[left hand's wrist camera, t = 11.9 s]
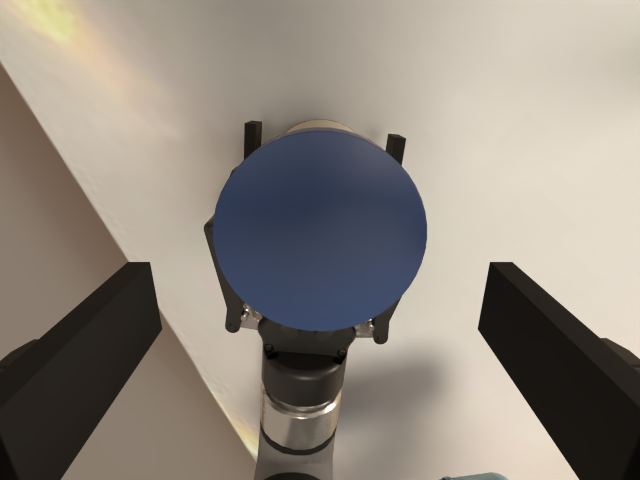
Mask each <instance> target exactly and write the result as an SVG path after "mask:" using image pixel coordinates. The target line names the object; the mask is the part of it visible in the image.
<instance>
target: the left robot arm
mask: <svg viewBox="0 0 640 480" xmlns="http://www.w3.org/2000/svg"><path fill="white" fill-rule="evenodd" d="M161 330H162V325H161V320H160V314H159V309H158V303H157V298H156V293H155V287H154V282H153V276H152V271H151V265H150V262H127V263H126V264H125V265H124V266H123V267H122V268H121V269H119V270H118V271H117V272H116V273H115V274H114V275H112V276H111V277H110V278H109V279H108V280H107V281H106V282H104V283H103V284H102V285H101V286H100V287H99V288H97V289H96V290H95V291H94V292H93V293H92V294H91V295H89V296H88V297H87V298H86V299H85V300H84V301H82V302H81V303H80V304H79V305H78V306H77V307H76V308H74V309H73V310H72V311H71V312H70V313H69V314H67V315H66V316H65V317H64V318H63V319H62V320H61V321H59V322H58V323H57V324H56V325H55V326H54V327H52V328H51V329H50V330H49V331H48V332H47V333H46V334H44V335H43V336H42V337H41V338H40V339H34V340H32V341H30V342H28V343H26V344H25V345H23V346H21V347H19V348H17V349H16V350H14V351H12V352H11V353H9V354H8V355H7V356H6V357H4V358H3V359H2V360H1V361H0V480H61V478H62V477H63V475H64V474H65V472H66V471H67V469H68V468H69V466H70V465H71V463H72V462H73V460H74V459H75V457H76V456H77V454H78V453H79V452H80V450H81V449H82V447H83V446H84V444H85V443H86V441H87V440H88V438H89V437H90V435H91V434H92V432H93V431H94V429H95V428H96V426H97V425H98V423H99V422H100V420H101V419H102V417H103V416H104V414H105V413H106V412H107V410H108V409H109V407H110V406H111V404H112V403H113V401H114V400H115V398H116V397H117V395H118V394H119V392H120V391H121V389H122V388H123V386H124V385H125V383H126V382H127V380H128V379H129V378H130V376H131V375H132V373H133V372H134V370H135V369H136V367H137V366H138V364H139V363H140V361H141V360H142V358H143V357H144V355H145V354H146V352H147V351H148V349H149V348H150V346H151V345H152V343H153V342H154V341H155V339H156V338H157V336H158V335H159V333H160V332H161ZM478 330H479V332H480V333H481V335H482V336H483V338H484V339H485V341H486V342H487V343H488V345H489V346H490V348H491V349H492V351H493V352H494V354H495V355H496V357H497V358H498V360H499V361H500V363H501V364H502V366H503V367H504V369H505V370H506V372H507V373H508V375H509V376H510V378H511V379H512V380H513V382H514V383H515V385H516V386H517V388H518V389H519V391H520V392H521V394H522V395H523V397H524V398H525V400H526V401H527V403H528V404H529V406H530V407H531V409H532V410H533V412H534V413H535V415H536V416H537V417H538V419H539V420H540V422H541V423H542V425H543V426H544V428H545V429H546V431H547V432H548V434H549V435H550V437H551V438H552V440H553V441H554V443H555V444H556V446H557V447H558V449H559V450H560V452H561V453H562V454H563V456H564V457H565V459H566V460H567V462H568V463H569V465H570V466H571V468H572V469H573V471H574V472H575V474H576V475H577V477H578V478H579V480H640V359H639V358H638V357H636V356H635V355H634V354H633V353H632V352H630V351H629V350H627V349H626V348H624V347H622V346H620V345H618V344H616V343H615V342H613V341H611V340H609V339H607V338H599V337H598V336H597V335H596V334H594V333H593V332H592V331H591V330H590V329H589V328H588V327H586V326H585V325H584V324H583V323H582V322H581V321H579V320H578V319H577V318H576V317H575V316H574V315H573V314H571V313H570V312H569V311H568V310H567V309H566V308H564V307H563V306H562V305H561V304H560V303H559V302H558V301H556V300H555V299H554V298H553V297H552V296H551V295H549V294H548V293H547V292H546V291H545V290H544V289H543V288H541V287H540V286H539V285H538V284H537V283H536V282H534V281H533V280H532V279H531V278H530V277H529V276H528V275H526V274H525V273H524V272H523V271H522V270H521V269H519V268H518V267H517V266H516V265H515V264H514V263H513V262H490V265H489V271H488V276H487V282H486V287H485V293H484V298H483V303H482V309H481V314H480V320H479V325H478Z"/></svg>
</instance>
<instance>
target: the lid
mask: <svg viewBox="0 0 640 480" xmlns="http://www.w3.org/2000/svg"><path fill="white" fill-rule="evenodd" d="M213 240H214V248H215V252H216V257H217V260H218V263H219V265H220V268H221V270H222V272H223V274H224V276H225V278H226V280H227V282H228V283H229V284H230V286H231V287H232V289H233V290H234V291H235V293H236V294H237V295H238V296H239V297H240V298H241V299H242V300H243V301H244V302H245V303H246V304H247V305H248V306H250V307H251V308H252V309H253V310H255V311H256V312H258V313H259V314H261V315H262V316H264V317H266V318H268V319H270V320H272V321H274V322H276V323H279V324H282V325H284V326H287V327H291V328H295V329H300V330H307V331H333V330H339V329H345V328H349V327H352V326H355V325H359V324H361V323H364V322H366V321H368V320H370V319H372V318H374V317H376V316H377V315H379V314H381V313H382V312H384V311H385V310H386V309H388V308H389V307H390V306H392V305H393V304H394V303H395V302H396V301H397V300H398V299H399V298H400V297H401V296H402V295H403V294H404V292H405V291H406V290H407V289H408V287H409V286H410V285H411V283H412V281H413V280H414V278H415V276H416V274H417V272H418V270H419V268H420V265H421V263H422V260H423V256H424V253H425V248H426V241H427V222H426V214H425V209H424V206H423V202H422V199H421V197H420V194H419V192H418V190H417V188H416V186H415V184H414V182H413V181H412V179H411V178H410V176H409V174H408V173H407V172H406V171H405V170H404V169H403V167H402V166H401V165H400V164H399V163H398V162H397V161H396V160H395V159H394V158H393V157H391V156H390V155H389V154H388V153H387V152H386V151H384V150H383V149H382V148H381V147H379V146H378V145H376V144H375V143H373V142H372V141H370V140H369V139H367V138H364V137H362V136H360V135H358V134H355V133H352V132H349V131H346V130H342V129H336V128H329V127H312V128H303V129H299V130H294V131H290V132H287V133H285V134H282V135H280V136H277V137H275V138H273V139H272V140H270V141H268V142H266V143H265V144H263V145H262V146H261V147H259V148H258V149H257V150H255V151H254V152H253V153H252V154H251V155H249V156H248V157H247V158H246V159H245V160H244V161H243V162H242V163H241V164H240V165H239V166H238V167H237V168H236V169H235V171H234V172H233V173H232V175H231V176H230V178H229V179H228V180H227V182H226V184H225V186H224V188H223V190H222V192H221V194H220V197H219V199H218V202H217V205H216V210H215V214H214V221H213Z"/></svg>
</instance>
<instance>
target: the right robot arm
mask: <svg viewBox="0 0 640 480" xmlns="http://www.w3.org/2000/svg"><path fill="white" fill-rule="evenodd" d="M261 133H262V122H260V121H250V122H247V123H245V137H244V160H245V159H246V158H247V157H248V156H249V155H251V154H252V153H253V152H254V151H255V150H257V149H258V148H259V147H261ZM405 142H406V138H404V137H402V136H400V135H397V134H388V139H387V145H386V152H387V153H388V154H389V155H390V156H391V157H393V158H394V159H395V160H396V161H397V162H398V163H399V164H400V165H402V160H403V154H404V148H405ZM236 168H237V167H236ZM236 168H235V169H236ZM235 169H233V170H232V172H231V175H232V173H233V172H234V171H235ZM231 175H230V176H231ZM213 221H214V215H213V216H212V217H211V218H210V220H209V221H208V222H207V223H206V224H205V226H204V232H205V235H206V239H207V242H208V245H209V249H210V252H211V255H212V259H213V262H214V266H215V269H216V272H217V276H218V279H219V283H220V286H221V289H222V293H223V296H224V299H225V303H226V306H227V315H226V324H225V327H226V330H227V331H229V332H231V333H235V332H237V331H239V329H240V327H243V328H249V329H255V330H258V332H259V334H260V336H261V338H262V340H263V355H262V384H261V405H260V436H259V449H258V458H257V465H256V470H255V476H254V480H333V449H334V439H335V431H336V426H337V421H338V415H339V409H340V402H341V395H342V385H343V380H344V373H345V366H346V359H347V352H348V348H349V346H350V344H351V343H352V342H353V341H354V339H355V338H374V341H375V343H377V344H384V343H386V341H387V340H388V330H389V321H390V319H391V317H392V315H393V313H394V311H395V309H396V307H397V305H398V303H399V301H400V299H401V297H402V296H401V297H400V298H399V299H398V300H397V301H396V302H395V303H394V304H393V305H392V306H390V307H389V308H388V309H386V310H385V311H384V312H382V313H381V314H379V315H377V316H376V317H374V318H372V319H370V320H368V321H366V322H364V323H361V324H359V325H355V326H352V327H349V328H345V329H339V330H333V331H307V330H300V329H295V328H291V327H287V326H284V325H282V324H279V323H276V322H274V321H272V320H270V319H268V318H266V317H264V316H262V315H261V314H258V313H256V312H255V310H253V309H252V308H251V307H250V306H248V305H247V304H246V303H245V302H244V301H243V300H242V299H241V298H240V297H239V296H238V295H237V294H236V293H235V291H234V290H233V289H232V287H231V286H230V284H229V283H228V282H227V280H226V278H225V276H224V274H223V272H222V270H221V268H220V265H219V263H218V260H217V257H216V252H215V248H214V240H213ZM425 249H426V248H425ZM440 480H508V479H507V478H505V477H504V476H502V475H500V474H498V473H492V472H491V473H484V474H477V475H470V476H463V477H456V478H451V477H443V478H442V479H440Z"/></svg>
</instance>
